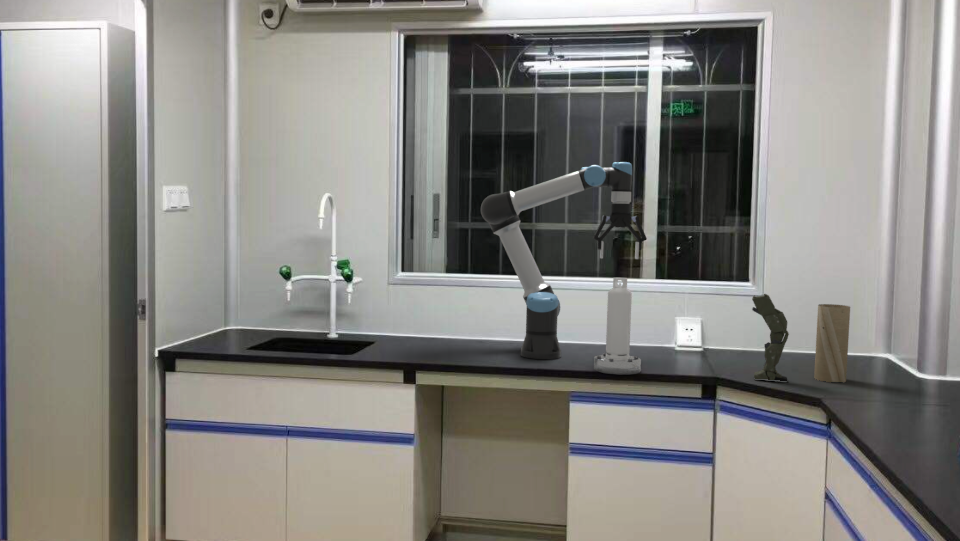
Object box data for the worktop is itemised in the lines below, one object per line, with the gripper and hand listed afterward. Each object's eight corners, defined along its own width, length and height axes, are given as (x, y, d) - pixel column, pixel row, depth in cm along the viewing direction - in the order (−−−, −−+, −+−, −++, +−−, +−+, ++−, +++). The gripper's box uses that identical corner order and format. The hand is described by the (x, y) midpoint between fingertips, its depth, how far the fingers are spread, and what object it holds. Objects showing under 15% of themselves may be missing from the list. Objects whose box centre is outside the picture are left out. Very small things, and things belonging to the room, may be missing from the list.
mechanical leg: (799, 377, 279) (780, 289, 279) (799, 382, 272) (780, 291, 272) (756, 383, 284) (738, 297, 284) (756, 388, 277) (737, 299, 277)
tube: (843, 384, 275) (847, 308, 273) (811, 380, 280) (815, 306, 278) (848, 379, 283) (852, 305, 282) (817, 375, 289) (821, 303, 287)
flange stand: (598, 374, 282) (598, 360, 282) (590, 365, 298) (590, 351, 298) (645, 374, 283) (645, 360, 283) (634, 365, 299) (635, 352, 299)
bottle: (631, 357, 292) (634, 278, 290) (625, 361, 285) (628, 279, 283) (609, 355, 296) (612, 276, 294) (602, 359, 289) (605, 278, 286)
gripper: (651, 203, 323) (649, 258, 325) (586, 202, 322) (585, 257, 324) (655, 203, 315) (653, 259, 317) (590, 202, 315) (588, 258, 316)
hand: (619, 258), depth 320 cm, fingers open, 13 cm apart
